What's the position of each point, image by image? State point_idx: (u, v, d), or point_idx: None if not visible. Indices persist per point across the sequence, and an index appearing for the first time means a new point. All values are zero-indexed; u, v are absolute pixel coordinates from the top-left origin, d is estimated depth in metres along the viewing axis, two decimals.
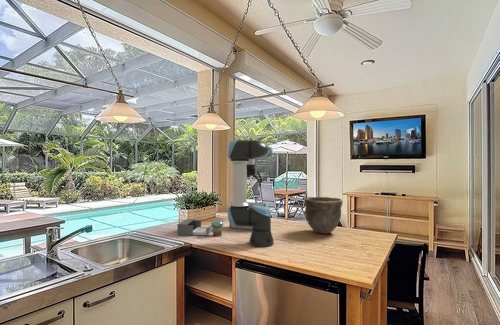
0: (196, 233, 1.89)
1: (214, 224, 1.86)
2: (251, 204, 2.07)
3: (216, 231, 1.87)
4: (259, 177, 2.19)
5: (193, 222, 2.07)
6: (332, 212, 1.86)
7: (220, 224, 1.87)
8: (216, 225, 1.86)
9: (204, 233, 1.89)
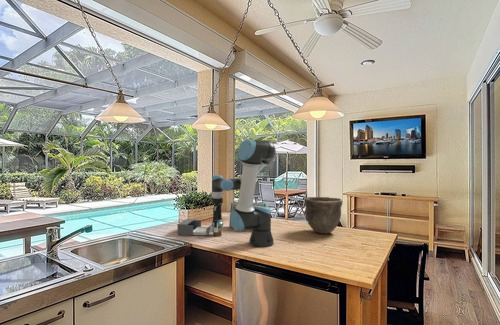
0: (196, 233, 1.89)
1: None
2: None
3: None
4: None
5: (193, 222, 2.07)
6: (332, 212, 1.86)
7: (220, 224, 1.87)
8: None
9: (204, 233, 1.89)
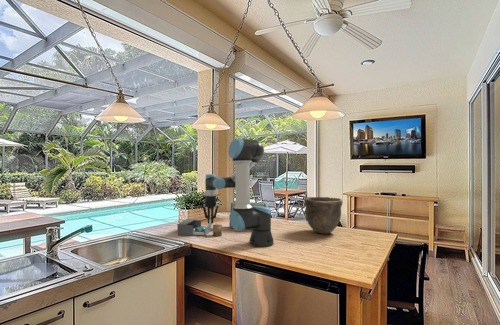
0: (194, 233, 1.89)
1: (197, 229, 1.94)
2: (251, 204, 2.07)
3: (216, 231, 1.87)
4: None
5: (193, 222, 2.07)
6: (332, 212, 1.86)
7: (203, 229, 1.94)
8: (199, 230, 1.94)
9: (202, 233, 1.89)
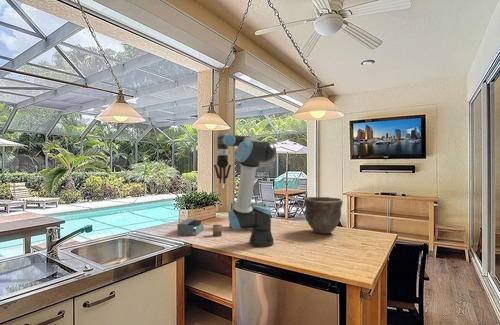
0: None
1: None
2: (251, 204, 2.07)
3: (216, 231, 1.87)
4: None
5: (193, 222, 2.07)
6: (332, 212, 1.86)
7: (194, 229, 1.95)
8: None
9: (193, 233, 1.90)
